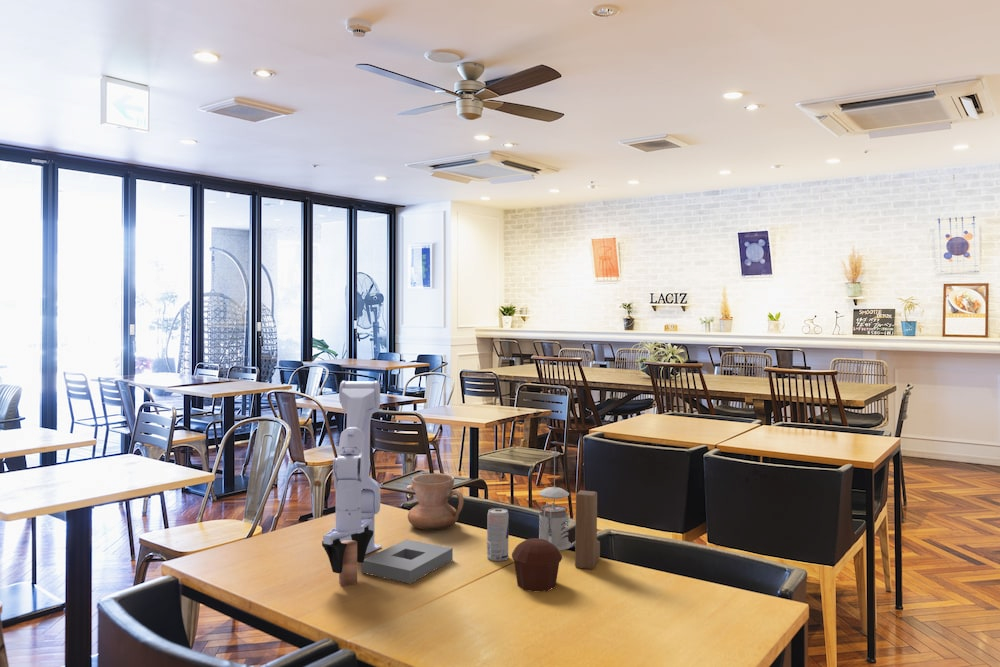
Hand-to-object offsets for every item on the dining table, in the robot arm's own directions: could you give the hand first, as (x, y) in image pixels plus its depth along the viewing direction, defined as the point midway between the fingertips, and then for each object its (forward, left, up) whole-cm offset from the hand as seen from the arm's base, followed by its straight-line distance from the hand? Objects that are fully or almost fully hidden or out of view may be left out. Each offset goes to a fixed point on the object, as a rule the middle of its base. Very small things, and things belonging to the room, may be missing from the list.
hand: (348, 567), depth 162 cm
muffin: (+38, +20, -4) cm, 43 cm away
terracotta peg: (0, 0, -3) cm, 3 cm away
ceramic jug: (-6, +45, -4) cm, 46 cm away
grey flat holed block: (+6, +15, -3) cm, 17 cm away
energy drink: (+22, +31, -4) cm, 38 cm away
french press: (+30, +47, -4) cm, 56 cm away
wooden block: (+43, +39, -4) cm, 58 cm away
